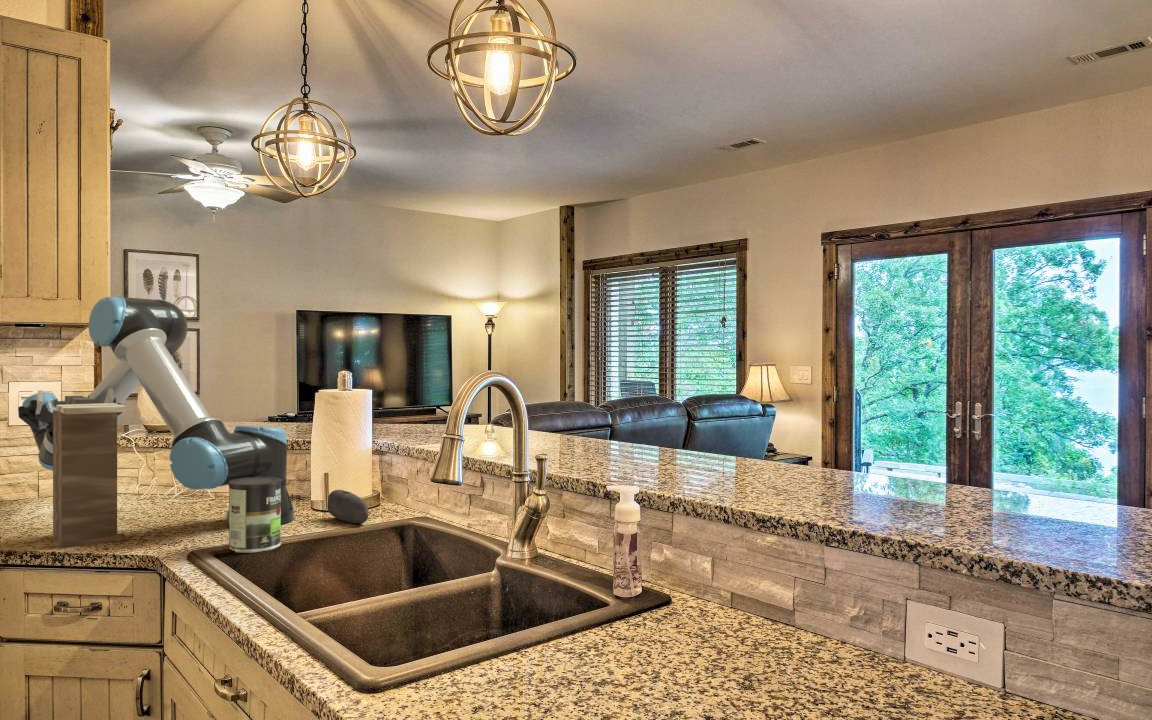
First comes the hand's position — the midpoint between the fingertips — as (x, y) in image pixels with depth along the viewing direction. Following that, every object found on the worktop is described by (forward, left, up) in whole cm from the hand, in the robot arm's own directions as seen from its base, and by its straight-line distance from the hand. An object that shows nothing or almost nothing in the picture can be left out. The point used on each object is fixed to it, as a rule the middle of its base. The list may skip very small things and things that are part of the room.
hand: (77, 394), depth 171 cm
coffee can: (-45, -15, -31) cm, 57 cm away
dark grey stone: (-43, -42, -31) cm, 67 cm away
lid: (-8, +2, -3) cm, 9 cm away
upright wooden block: (-9, +2, -31) cm, 32 cm away
